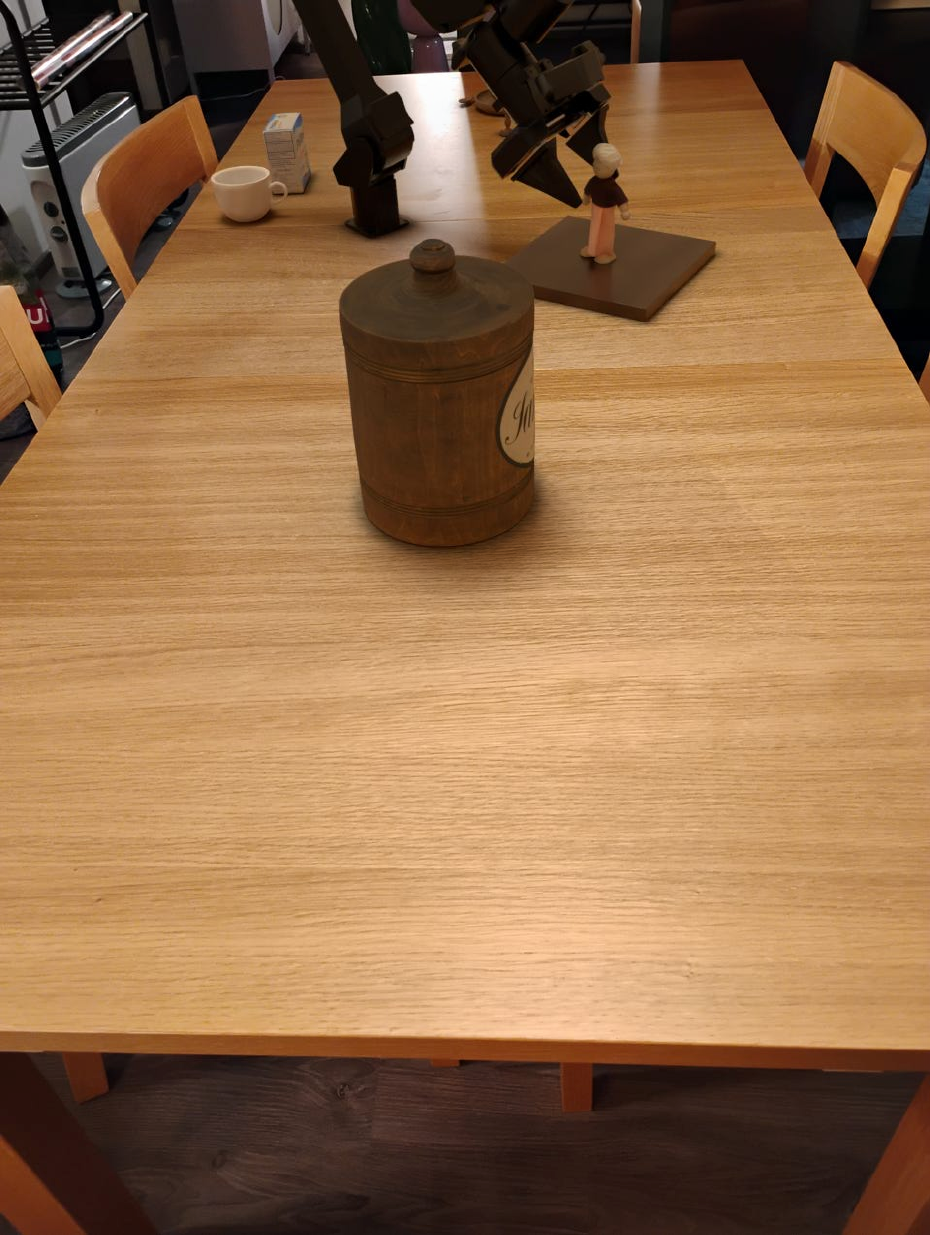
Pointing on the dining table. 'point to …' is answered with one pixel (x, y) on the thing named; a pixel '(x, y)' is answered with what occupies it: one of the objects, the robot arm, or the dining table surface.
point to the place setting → (489, 107)
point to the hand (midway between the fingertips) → (598, 192)
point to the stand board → (611, 268)
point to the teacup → (245, 192)
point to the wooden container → (442, 394)
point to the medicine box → (287, 152)
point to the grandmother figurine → (604, 203)
